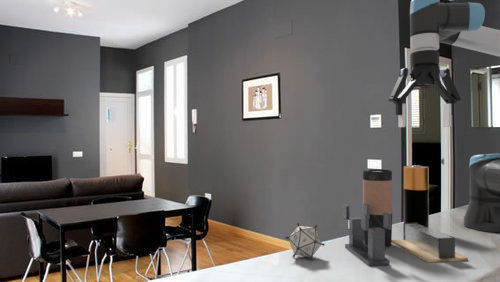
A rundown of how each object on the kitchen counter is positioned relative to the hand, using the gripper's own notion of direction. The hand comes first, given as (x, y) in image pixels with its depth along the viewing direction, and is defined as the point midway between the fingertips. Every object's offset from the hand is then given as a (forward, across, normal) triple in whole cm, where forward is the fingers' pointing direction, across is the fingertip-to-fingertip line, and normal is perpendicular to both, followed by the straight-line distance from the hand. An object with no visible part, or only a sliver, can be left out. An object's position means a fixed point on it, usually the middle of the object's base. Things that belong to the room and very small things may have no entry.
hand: (424, 127), depth 114 cm
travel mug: (+32, +16, +3) cm, 36 cm away
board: (+32, +6, +11) cm, 34 cm away
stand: (+32, +23, +13) cm, 41 cm away
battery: (+32, -3, -10) cm, 34 cm away
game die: (+32, +38, +12) cm, 51 cm away
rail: (+31, +6, +11) cm, 33 cm away
